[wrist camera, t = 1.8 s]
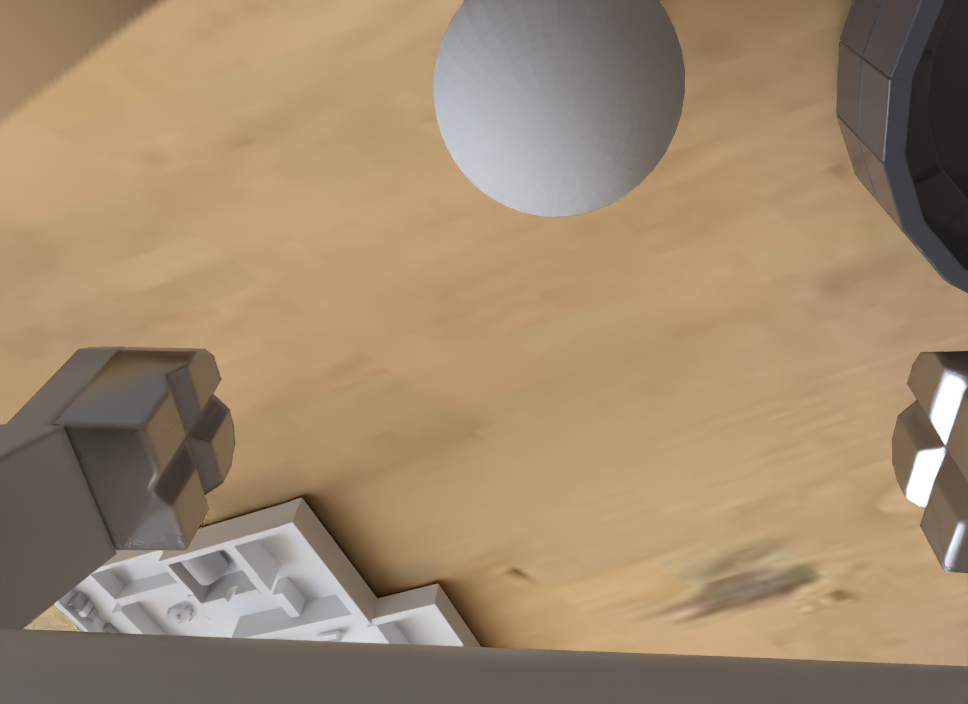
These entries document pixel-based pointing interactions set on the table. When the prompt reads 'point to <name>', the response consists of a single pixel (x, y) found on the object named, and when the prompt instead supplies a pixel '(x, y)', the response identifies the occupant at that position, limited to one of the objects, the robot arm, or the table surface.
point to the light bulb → (558, 99)
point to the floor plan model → (258, 589)
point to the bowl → (911, 120)
